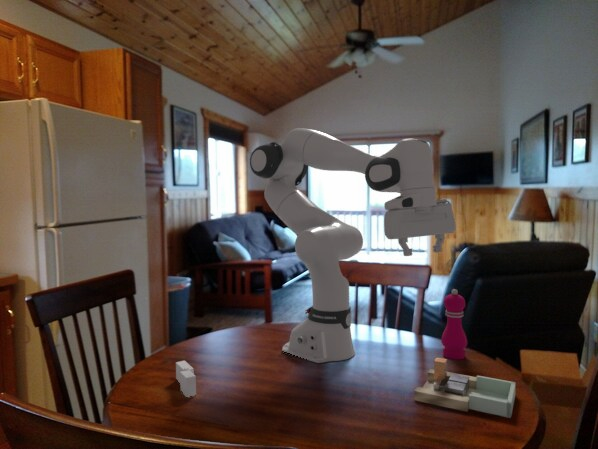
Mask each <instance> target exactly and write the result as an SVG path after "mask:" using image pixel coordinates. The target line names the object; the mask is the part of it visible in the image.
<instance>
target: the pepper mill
mask: <svg viewBox="0 0 598 449" xmlns="http://www.w3.org/2000/svg"><path fill="white" fill-rule="evenodd" d="M458 293H459V292H458V289H455V288H453V289H452V290H451V293H449V294H448V295H446V296H445V297H444V299H443V306H444V307H445V309H446V310H445V311H444V312H445V316H446V318H447V320H446V321H447V322H446V326H445V329H444V331H443V332H442V335H441V345H442V346H443V347H444V348H442V356H444V357H445V359H448V360H449V359H450V360H456V361H457V360H458V361H459V360H464V359H466V350H465V348H466V347H467V346H468V340H467V339H468V338H467V335H466V333H465V331H464V328H463V324H462V321H463V320H462V319H463V317H464V309H465V308H466V300H465V298H464V297H463V296H462V295H460V294H458Z"/></svg>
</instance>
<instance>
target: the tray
mask: <svg viewBox="0 0 598 449" xmlns="http://www.w3.org/2000/svg"><path fill="white" fill-rule="evenodd" d="M476 377H477V389H476V392H475V394H474V395H473V394H469V409H468V410H473V411H476V412H481V413H486V414H489V415H495V416H499V417H504V418H509V419H512V415H513V409H514V406H515V399H516V387H517V386H516V385H517V384H516V383H517V382H516V381H511V380H510V381H509V380H504V379H499V378H494V377H493V378H492V377H488V376H482V375H476Z"/></svg>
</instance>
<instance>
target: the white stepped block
mask: <svg viewBox="0 0 598 449" xmlns="http://www.w3.org/2000/svg"><path fill="white" fill-rule="evenodd" d="M194 370H195V369H194V367H193V366H191V364H190V363H188V362H187V361H186V360H180V361H177V362H175V379H177V380H178V382H179V383H180V384H179V383H178V382H177V383H178V384H179V385H180V387H179V388H180V392H181V391H182V392H183V393H182V392H181V393H182V394H183V396H185V398H186V397H188V398H191V397H190V396H192V397H195V395H196V396H197V376H196V374H195V371H194Z"/></svg>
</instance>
